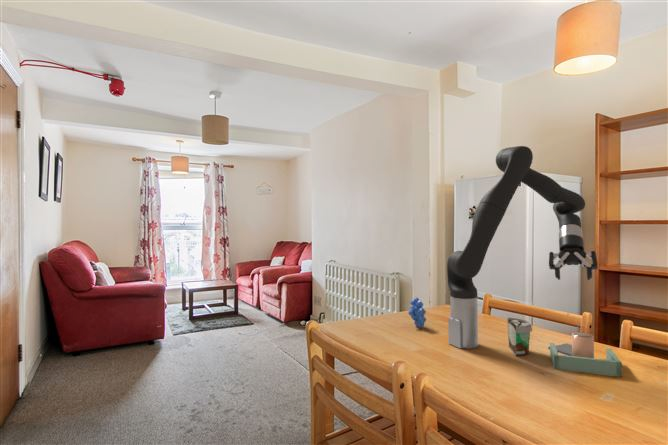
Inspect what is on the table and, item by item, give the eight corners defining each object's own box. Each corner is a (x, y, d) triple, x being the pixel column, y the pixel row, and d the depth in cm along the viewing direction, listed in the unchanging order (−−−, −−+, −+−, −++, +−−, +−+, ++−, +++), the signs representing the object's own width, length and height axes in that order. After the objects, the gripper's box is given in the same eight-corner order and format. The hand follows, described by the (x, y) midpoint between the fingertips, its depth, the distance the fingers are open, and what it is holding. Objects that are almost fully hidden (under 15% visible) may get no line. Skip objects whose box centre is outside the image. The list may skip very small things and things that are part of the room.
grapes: (402, 323, 166) (402, 296, 166) (417, 322, 167) (416, 295, 167) (414, 331, 154) (414, 301, 154) (429, 329, 156) (429, 300, 156)
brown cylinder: (586, 369, 112) (585, 338, 112) (568, 363, 118) (567, 333, 118) (598, 366, 115) (598, 336, 115) (580, 360, 120) (579, 331, 120)
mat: (573, 357, 122) (573, 355, 122) (548, 348, 131) (548, 346, 131) (592, 353, 126) (592, 351, 126) (566, 345, 134) (566, 343, 134)
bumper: (622, 377, 107) (621, 362, 107) (554, 368, 113) (554, 355, 113) (611, 361, 118) (610, 348, 118) (550, 354, 125) (550, 342, 125)
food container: (537, 359, 122) (537, 327, 122) (517, 357, 123) (516, 326, 123) (526, 346, 134) (526, 317, 134) (507, 345, 135) (507, 317, 135)
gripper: (547, 234, 140) (548, 272, 131) (594, 232, 132) (598, 272, 123) (549, 246, 144) (550, 284, 135) (595, 245, 137) (599, 284, 128)
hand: (573, 278), depth 129 cm, fingers open, 8 cm apart
